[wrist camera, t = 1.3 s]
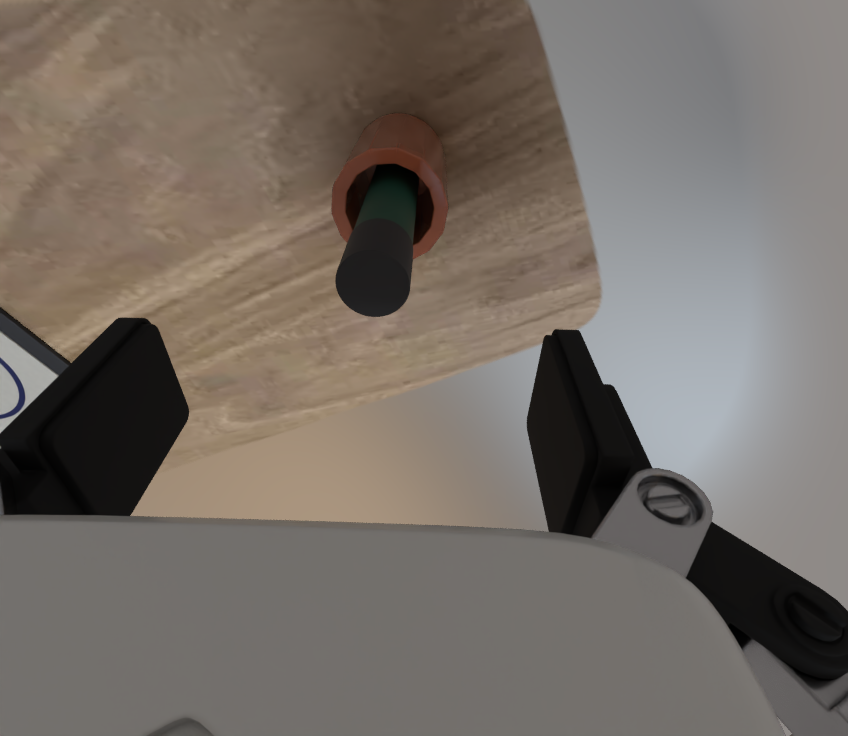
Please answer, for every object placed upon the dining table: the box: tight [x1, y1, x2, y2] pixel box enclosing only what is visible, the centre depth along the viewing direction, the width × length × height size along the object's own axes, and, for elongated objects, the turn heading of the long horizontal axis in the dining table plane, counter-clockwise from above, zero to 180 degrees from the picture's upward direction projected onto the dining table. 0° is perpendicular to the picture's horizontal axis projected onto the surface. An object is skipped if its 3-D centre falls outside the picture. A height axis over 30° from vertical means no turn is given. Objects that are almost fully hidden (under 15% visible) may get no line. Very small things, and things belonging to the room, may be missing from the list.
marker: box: [336, 164, 419, 317], centre depth 20 cm, size 2×2×13 cm
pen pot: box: [331, 113, 448, 259], centre depth 22 cm, size 5×5×7 cm
